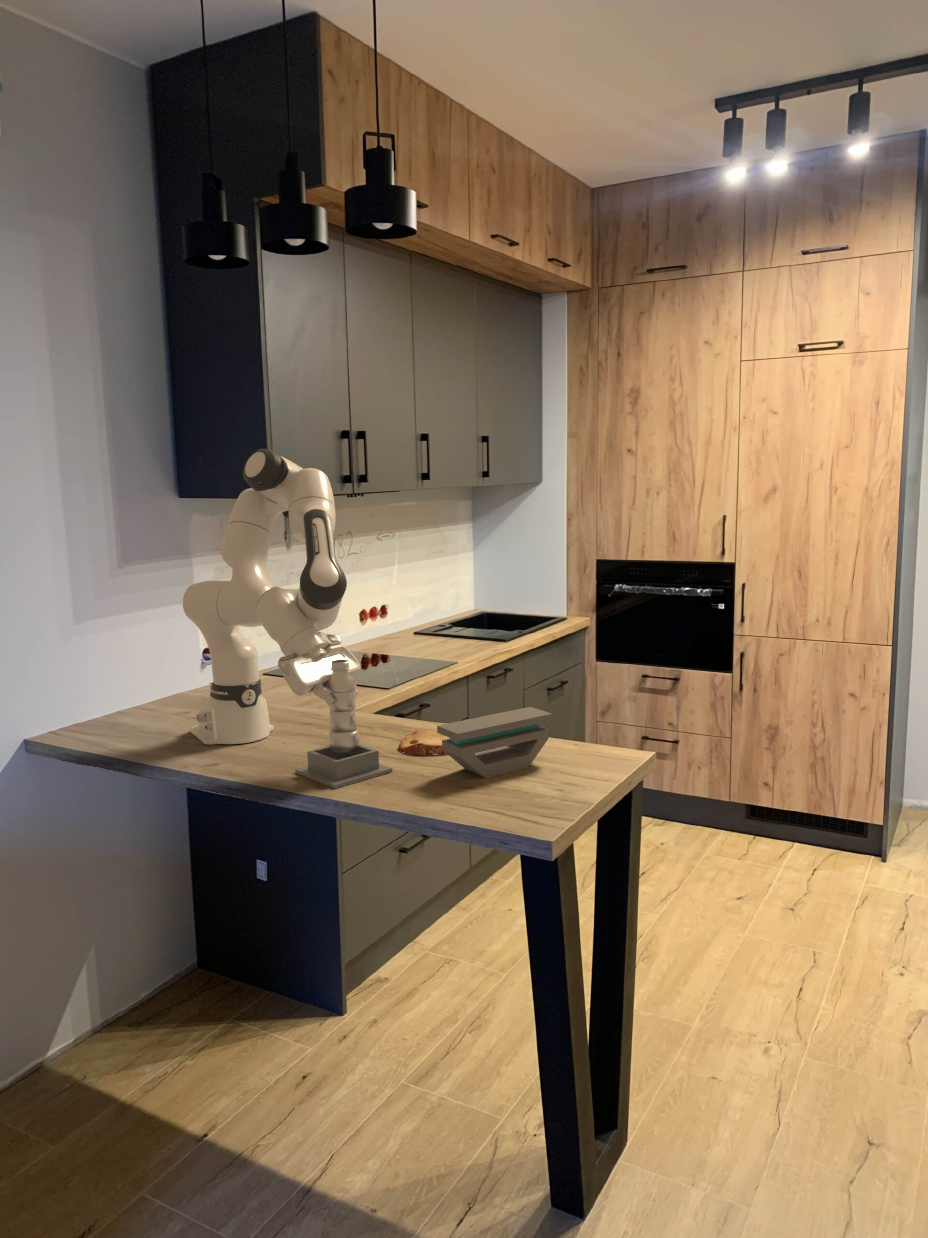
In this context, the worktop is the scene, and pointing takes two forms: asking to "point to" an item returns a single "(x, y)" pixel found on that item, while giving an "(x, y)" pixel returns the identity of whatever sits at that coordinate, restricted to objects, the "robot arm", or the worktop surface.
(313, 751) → the holder
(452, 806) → the worktop surface
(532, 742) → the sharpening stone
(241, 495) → the robot arm
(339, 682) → the plastic bottle
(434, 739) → the slice of bread
